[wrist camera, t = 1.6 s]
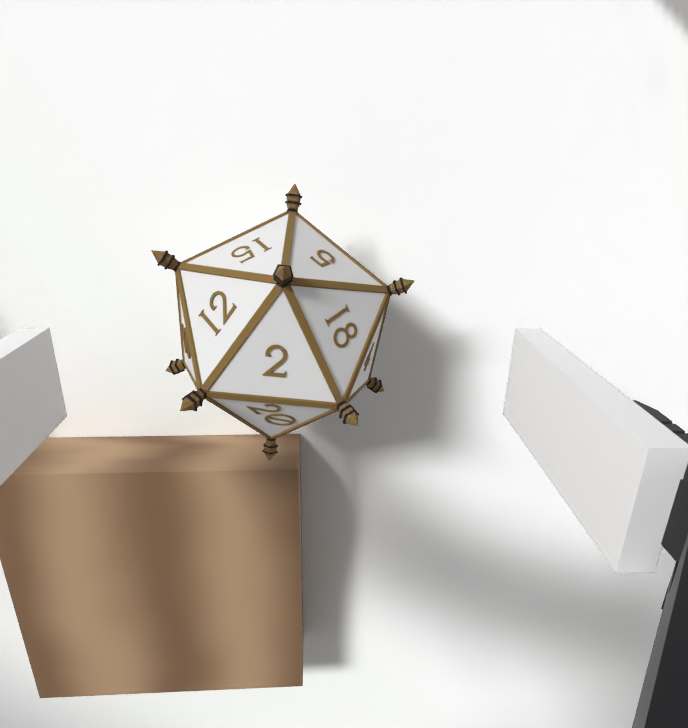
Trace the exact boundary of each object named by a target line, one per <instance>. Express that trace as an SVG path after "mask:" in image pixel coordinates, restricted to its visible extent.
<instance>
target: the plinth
mask: <svg viewBox="0 0 688 728" xmlns="http://www.w3.org/2000/svg"><path fill="white" fill-rule="evenodd" d="M266 440H267V439H266V437H265V436H263V435H204V436H140V437H77V438H46V439H45V440H44V441H43V442H42V443H41V444H40V445H39V446H38V447H37V448H36V449H35V450H34V451H33V452H32V453H31V454H30V455H29V456H28V457H27V459H26V460H25V461H24V462H23V463H22V464H21V465H20V466H19V467H18V468H17V469H16V470H15V471H14V472H13V473H12V474H11V475H10V476H9V477H8V478H7V479H6V480H5V481H4V483H3V484H2V485H1V486H0V560H1V563H2V567H3V570H4V573H5V577H6V580H7V584H8V587H9V591H10V594H11V598H12V601H13V605H14V608H15V612H16V615H17V619H18V622H19V626H20V629H21V633H22V636H23V640H24V643H25V647H26V650H27V654H28V657H29V661H30V664H31V668H32V671H33V675H34V678H35V682H36V685H37V689H38V692H39V696H40V698H51V697H73V696H95V695H116V694H138V693H160V692H181V691H203V690H225V689H246V688H268V687H290V686H303V595H302V534H301V472H300V434H285V435H283V436H280V437H278V438H276V444H277V445H278V447H277V451H278V453H276V454H275V455H274V456H273V457H272V458H271V460H270V461H269V460H268V458H267V457H266V455H265V453H264V452H262V450H264V446H263V444H264V443H265V442H266Z"/></svg>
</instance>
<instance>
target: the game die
mask: <svg viewBox="0 0 688 728" xmlns="http://www.w3.org/2000/svg"><path fill="white" fill-rule="evenodd" d="M286 196H287V201H285V203H287V207H288V210H287V211H286V212H284V213H282V214H280V215H278V216H276V217H274V218H272V219H270V220H268V221H266V222H264V223H261V224H259V225H257V226H255V227H253V228H251V229H249V230H247V231H245V232H243V233H241V234H239V235H237V236H234V237H232V238H230V239H228V240H226V241H224V242H222V243H220V244H218V245H216V246H214V247H212V248H210V249H207V250H205V251H203V252H201V253H199V254H197V255H195V256H193V257H191V258H189V259H187V260H185V261H183V262H178V261H177V260H176V259H175V258H174V257H175V256H174V255H170V254H169V253H168V251H165V252H163V251H152V250H151V251H152V253H153V255H154V256H155V258H156V260H157V262H158V266H159V265H162V266H163V267H165V269H167V268H168V269H172V270H174V271H175V275H176V287H177V298H178V310H179V322H180V333H181V345H182V356H183V360H179V359H176V361H173V360H171V362H170V365H169V367H168V368H167V370H166V371H167V372H171V373H173V374H178V373H180V372H182V371H185V370H184V369H185V368H186V369H187V371H188V373H189V375H190V377H191V379H192V381H193V382H194V384H195V386H196V388H197V391H194V390H193V391H192V392H191V393H189V394H188V395H186V396H185V397H184V398H182V400H183V402H182V406H181V410H180V411H187V410H194V411H197V407H199V406H202V402H203V400H204V399H206V400H208V401H209V402H211V403H213V404H214V405H216V406H217V407H219V408H221V409H222V410H224V411H225V412H227V413H228V414H230V415H232V416H233V417H235V418H236V419H238V420H240V421H241V422H243V423H244V424H246V425H247V426H249V427H251V428H252V429H254V430H255V431H257V432H259V433H260V434H262V435H263V436H265V437H266V439H267V440H266V442H265V443H264V444H263V446H264V450H262V452H264V453H265V455H266V457H267V458H268V460H269V461H270V460H271V458H272V457H273V456H274V455H275V454H276V453H278V451H277V447H278V445H277V444H276V438H278V437H280V436H283V435H285V434H287V433H289V432H291V431H294V430H296V429H298V428H300V427H303V426H305V425H307V424H309V423H311V422H314V421H316V420H318V419H320V418H323V417H325V416H327V415H329V414H331V413H334V412H336V411H339V413H340V415H339V417H340V418H342V419H343V424H346V423H348V424H352V425H356V426H358V415H359V413H358V412H357V411H356V410H355V409H354V408H353V407H352V406H351V405H350V404H349V405H348V404H347V403H348V402H349V401H350V400H351V399H352V398H353V397H354V396H355V395H356V394H357V393H358V392H359V391H360V390H361V389H362V388H363V387H364V386H365V385H367V388H369V389H370V390H372V391H373V392H375V393H377V392H381V391H384V389H383V386H382V383H381V380H377V378H376V377H375V378H371V377H370V376H371V372H372V368H373V364H374V360H375V356H376V352H377V348H378V344H379V340H380V335H381V331H382V327H383V323H384V319H385V315H386V311H387V307H388V303H389V299H390V296H391V295H392V294H398V296H399V295H400V293H404V292H405V294H406V293H407V290H408V289H409V288H410V286H411V285H412V284H413V282H414V281H413V280H406V279H403V278H400V280H398V281H396V280H394V281H393V283H392V284H390V285H388V286H387V285H386V284H385V283H383V282H382V281H381V280H380V279H378V278H377V277H376V276H375V275H374V274H372V273H371V272H370V271H369V270H367V269H366V268H365V267H364V266H362V265H361V264H360V263H359V262H358V261H356V260H355V259H354V258H353V257H351V256H350V255H349V254H348V253H347V252H345V251H344V250H343V249H342V248H340V247H339V246H338V245H337V244H335V243H334V242H333V241H332V240H331V239H329V238H328V237H327V236H326V235H324V234H323V233H322V232H321V231H320V230H318V229H317V228H316V227H315V226H313V225H312V224H311V223H310V222H308V221H307V220H306V219H305V218H304V217H302V216H301V215H300V214H299V213H298V211H297V210H298V207H299V205H301V203H300V199H301V198H302V196H301V195H300V193H299V191H298V189H297V187H296V184H294V185H293V187H292V188H291V190H290V191H289V192H288V194H286Z"/></svg>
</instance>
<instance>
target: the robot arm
mask: <svg viewBox="0 0 688 728" xmlns="http://www.w3.org/2000/svg"><path fill="white" fill-rule="evenodd" d="M503 415H504V416H505V417H506V419H507V420H508V422H509V423H510V424H511V426H512V427H513V429H514V430H515V432H516V433H517V434H518V436H519V437H520V439H521V440H522V441H523V443H524V444H525V446H526V447H527V449H528V450H529V451H530V453H531V454H532V456H533V457H534V458H535V460H536V461H537V463H538V464H539V465H540V467H541V468H542V470H543V471H544V473H545V474H546V475H547V477H548V478H549V480H550V481H551V482H552V484H553V485H554V487H555V488H556V490H557V491H558V492H559V494H560V495H561V497H562V498H563V499H564V501H565V502H566V504H567V505H568V507H569V508H570V509H571V511H572V512H573V514H574V515H575V516H576V518H577V519H578V521H579V522H580V524H581V525H582V526H583V528H584V529H585V531H586V532H587V533H588V535H589V536H590V538H591V539H592V540H593V542H594V543H595V545H596V546H597V548H598V549H599V550H600V552H601V553H602V555H603V556H604V557H605V559H606V560H607V562H608V563H609V565H610V566H611V567H612V569H613V570H614V572H615V573H655V569H656V566H657V563H658V560H659V556H660V553H661V550H662V546H663V547H664V548H665V549H666V550H667V552H668V553H669V554H670V555H671V556H672V557H673V558H674V560H675V561H676V564H675V567H674V570H673V573H672V576H671V580H670V583H669V586H668V589H667V592H666V595H665V598H664V602H663V605H662V608H661V609H663V611H662V615H661V618H660V622H659V626H658V630H657V634H656V638H655V641H654V645H653V649H652V653H651V657H650V661H649V664H648V668H647V672H646V676H645V680H644V684H643V687H642V691H641V695H640V699H639V703H638V707H637V710H636V714H635V718H634V722H633V726H632V728H688V433H687V434H685V431H684V430H683V429H681V428H680V427H679V426H677V425H676V424H672V421H671V420H669V419H668V418H667V417H665V416H664V415H663V414H661V413H660V412H659V411H658V410H656V409H653V408H651V407H649V406H647V405H645V404H642V403H640V402H638V401H636V400H631V399H630V398H629V397H627V396H626V395H625V394H624V393H622V392H621V391H620V390H619V389H617V388H616V387H615V386H613V385H612V384H611V383H610V382H608V381H607V380H606V379H605V378H603V377H602V376H601V375H600V374H598V373H597V372H596V371H594V370H593V369H592V368H591V367H589V366H588V365H587V364H586V363H584V362H583V361H582V360H581V359H579V358H578V357H577V356H575V355H574V354H573V353H572V352H570V351H569V350H568V349H567V348H565V347H564V346H563V345H561V344H560V343H559V342H558V341H556V340H555V339H554V338H553V337H551V336H550V335H549V334H548V333H546V332H545V331H544V330H542V329H515V334H514V341H513V348H512V355H511V362H510V369H509V375H508V382H507V389H506V396H505V403H504V410H503ZM66 417H67V414H66V409H65V404H64V399H63V394H62V389H61V384H60V379H59V374H58V369H57V364H56V359H55V354H54V349H53V344H52V339H51V334H50V329H49V327H21V328H19V329H17V330H15V331H14V332H12V333H10V334H9V335H7V336H5V337H3V338H2V339H0V486H1V485H2V484H3V483H4V481H5V480H6V479H7V478H8V477H9V476H10V475H11V474H12V473H13V472H14V471H15V470H16V469H17V468H18V467H19V466H20V465H21V464H22V463H23V462H24V461H25V460H26V459H27V457H28V456H29V455H30V454H31V453H32V452H33V451H34V450H35V449H36V448H37V447H38V446H39V445H40V444H41V443H42V442H43V441H44V440H45V439H46V438H47V437H48V436H49V434H50V433H51V432H52V431H53V430H54V429H55V428H56V427H57V426H58V425H59V424H60V423H61V422H62V421H63V420H64V419H65V418H66Z"/></svg>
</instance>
